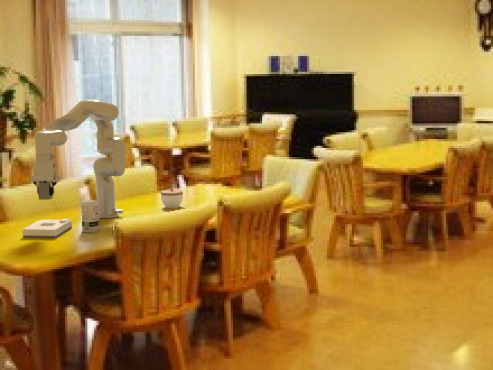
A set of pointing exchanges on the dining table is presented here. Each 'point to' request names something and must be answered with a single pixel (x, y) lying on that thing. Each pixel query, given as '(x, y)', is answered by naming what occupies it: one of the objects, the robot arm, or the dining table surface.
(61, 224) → the socket
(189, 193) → the dining table surface
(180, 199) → the lidded bowl
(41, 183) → the plug
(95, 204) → the supplement can
